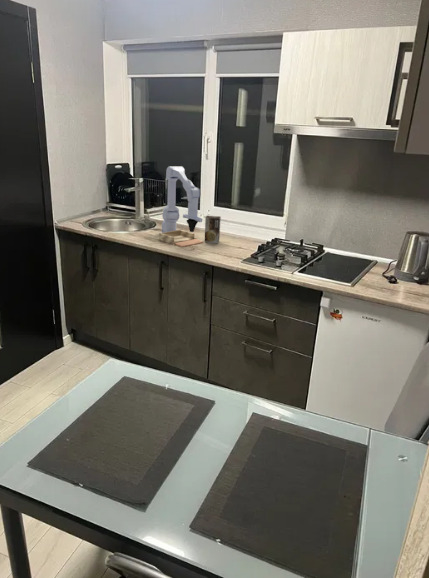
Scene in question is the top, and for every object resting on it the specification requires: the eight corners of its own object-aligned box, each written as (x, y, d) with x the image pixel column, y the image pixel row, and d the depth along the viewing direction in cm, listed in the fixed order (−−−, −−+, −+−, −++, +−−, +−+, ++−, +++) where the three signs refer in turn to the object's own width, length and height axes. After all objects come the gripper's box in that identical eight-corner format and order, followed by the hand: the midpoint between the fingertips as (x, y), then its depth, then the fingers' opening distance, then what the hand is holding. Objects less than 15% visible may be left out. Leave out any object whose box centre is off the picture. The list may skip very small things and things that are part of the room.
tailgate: (174, 243, 256) (181, 246, 252) (196, 238, 268) (203, 241, 264) (174, 244, 256) (181, 247, 252) (195, 240, 268) (203, 243, 264)
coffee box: (219, 241, 272) (221, 216, 266) (218, 244, 266) (220, 218, 260) (205, 240, 272) (206, 215, 267) (204, 242, 266) (205, 217, 261)
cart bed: (158, 240, 265) (159, 233, 263) (180, 236, 278) (180, 229, 276) (172, 245, 257) (173, 237, 255) (194, 240, 269) (194, 233, 268)
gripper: (179, 207, 253) (178, 230, 258) (196, 211, 244) (195, 235, 249) (188, 206, 258) (187, 228, 263) (205, 210, 249) (204, 233, 254)
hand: (191, 231), depth 256 cm, fingers closed
